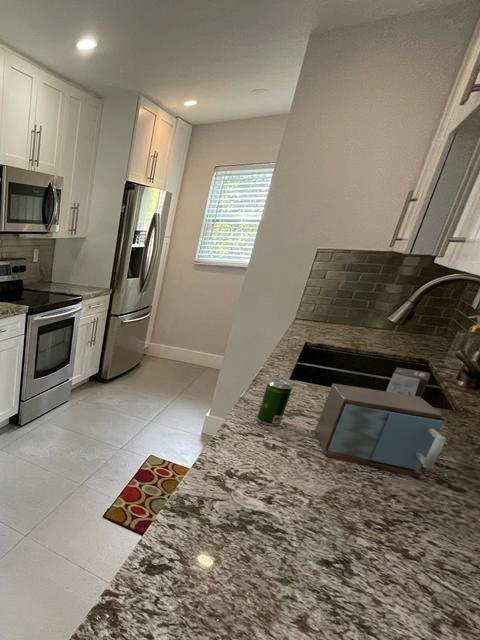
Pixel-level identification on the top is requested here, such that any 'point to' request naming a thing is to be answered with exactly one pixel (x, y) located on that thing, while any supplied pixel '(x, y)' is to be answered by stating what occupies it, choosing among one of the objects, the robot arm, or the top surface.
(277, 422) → the beer can
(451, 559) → the top surface
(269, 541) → the top surface
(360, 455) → the display cabinet
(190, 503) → the top surface
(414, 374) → the coffee box
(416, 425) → the glass door
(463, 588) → the top surface
